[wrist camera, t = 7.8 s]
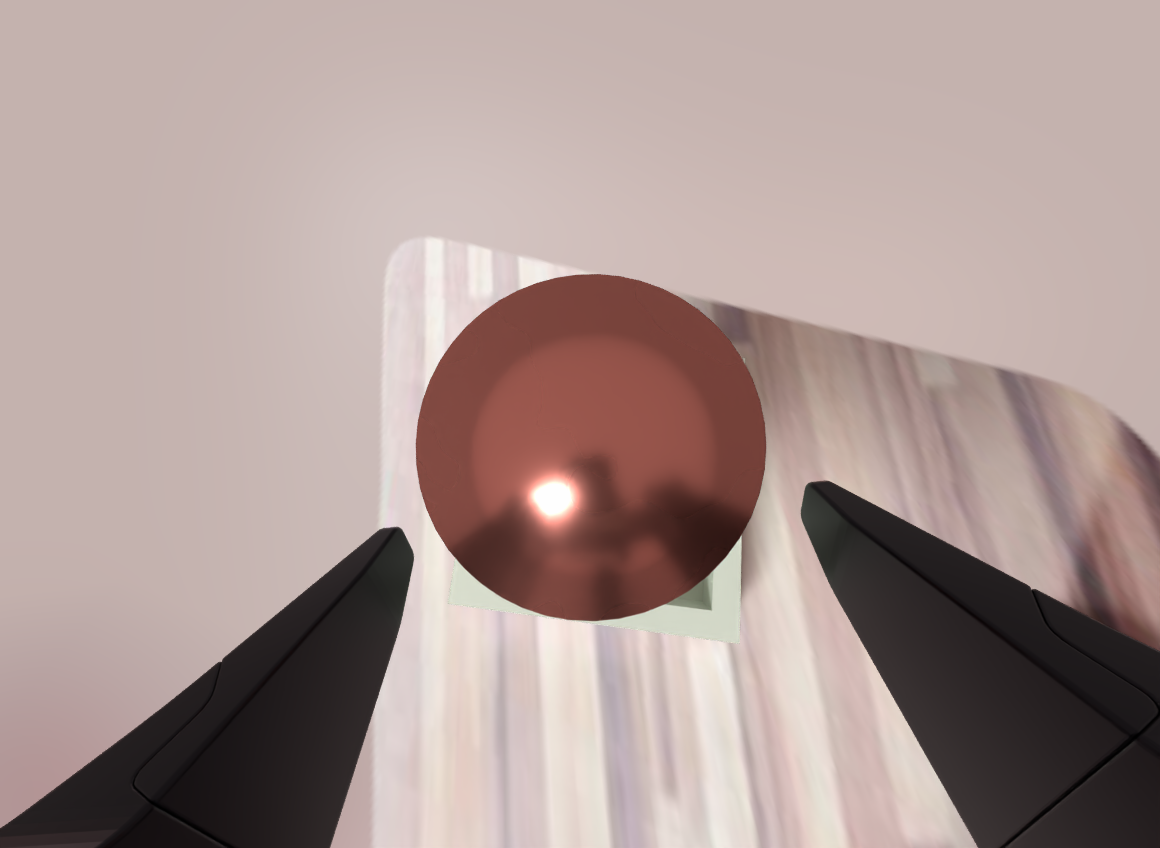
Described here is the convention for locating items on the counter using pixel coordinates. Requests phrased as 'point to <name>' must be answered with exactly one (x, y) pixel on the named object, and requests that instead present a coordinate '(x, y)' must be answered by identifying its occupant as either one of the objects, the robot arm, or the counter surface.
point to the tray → (690, 615)
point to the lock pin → (590, 447)
